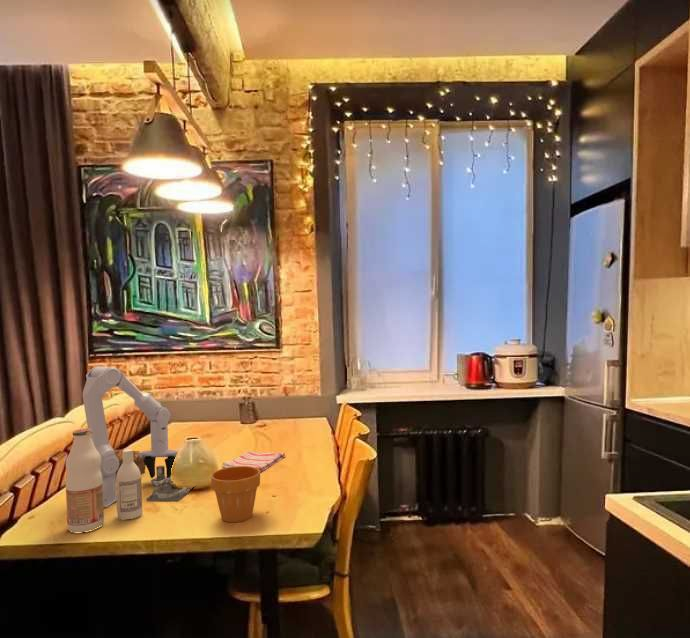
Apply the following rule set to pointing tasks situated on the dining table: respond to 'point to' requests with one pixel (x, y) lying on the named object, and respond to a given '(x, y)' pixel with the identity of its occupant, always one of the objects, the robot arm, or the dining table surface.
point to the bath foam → (128, 488)
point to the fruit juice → (84, 484)
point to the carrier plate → (168, 493)
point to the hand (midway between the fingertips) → (160, 477)
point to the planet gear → (160, 477)
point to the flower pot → (236, 491)
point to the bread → (136, 460)
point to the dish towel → (255, 460)
